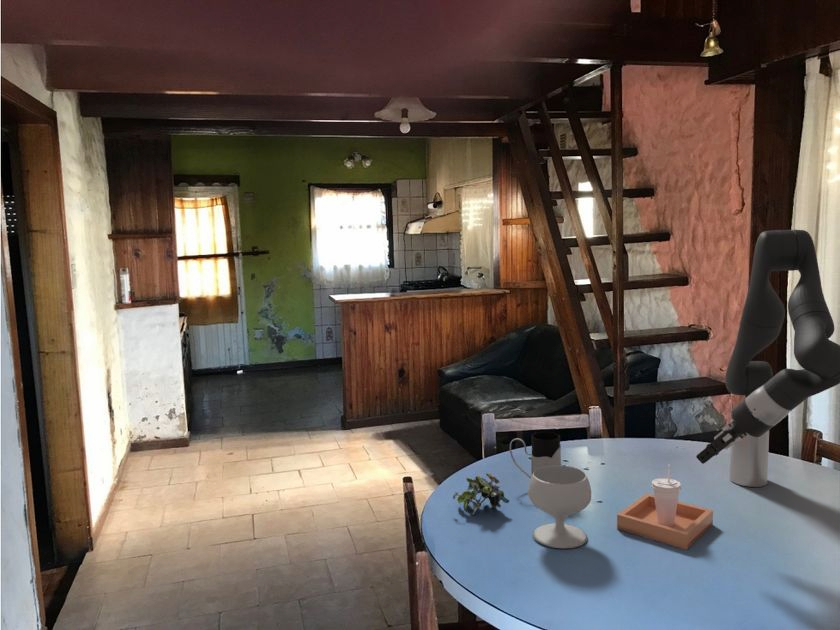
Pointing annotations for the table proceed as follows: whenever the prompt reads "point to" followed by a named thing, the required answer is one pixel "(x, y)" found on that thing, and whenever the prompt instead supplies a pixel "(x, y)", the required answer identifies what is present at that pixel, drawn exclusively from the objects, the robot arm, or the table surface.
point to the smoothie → (666, 499)
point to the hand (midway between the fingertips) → (707, 454)
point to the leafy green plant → (482, 492)
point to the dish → (645, 523)
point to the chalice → (559, 503)
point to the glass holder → (542, 450)
